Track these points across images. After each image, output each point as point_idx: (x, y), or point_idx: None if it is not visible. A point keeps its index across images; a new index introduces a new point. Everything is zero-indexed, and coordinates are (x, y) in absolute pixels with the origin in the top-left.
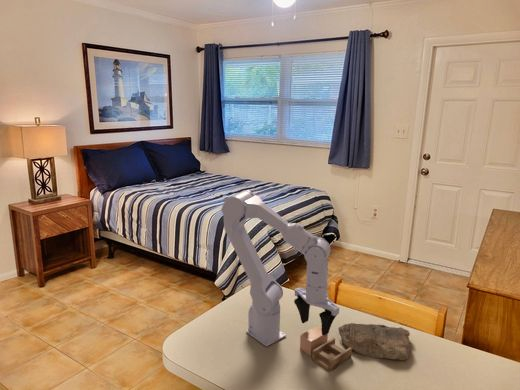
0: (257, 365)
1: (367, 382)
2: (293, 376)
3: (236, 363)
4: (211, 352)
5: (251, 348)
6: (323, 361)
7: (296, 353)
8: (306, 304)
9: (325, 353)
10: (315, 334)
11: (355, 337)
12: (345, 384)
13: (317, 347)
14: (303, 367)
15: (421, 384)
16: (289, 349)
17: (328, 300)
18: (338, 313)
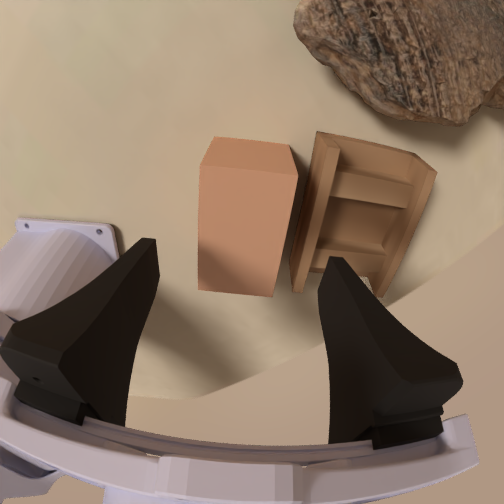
0: (185, 354)
1: (476, 236)
2: (285, 337)
3: (150, 367)
4: None
5: None
6: None
7: None
8: (108, 363)
9: (339, 253)
10: (253, 244)
11: (440, 96)
12: (425, 279)
13: (299, 266)
14: (287, 303)
15: None
16: (185, 269)
17: (365, 487)
18: (463, 420)
